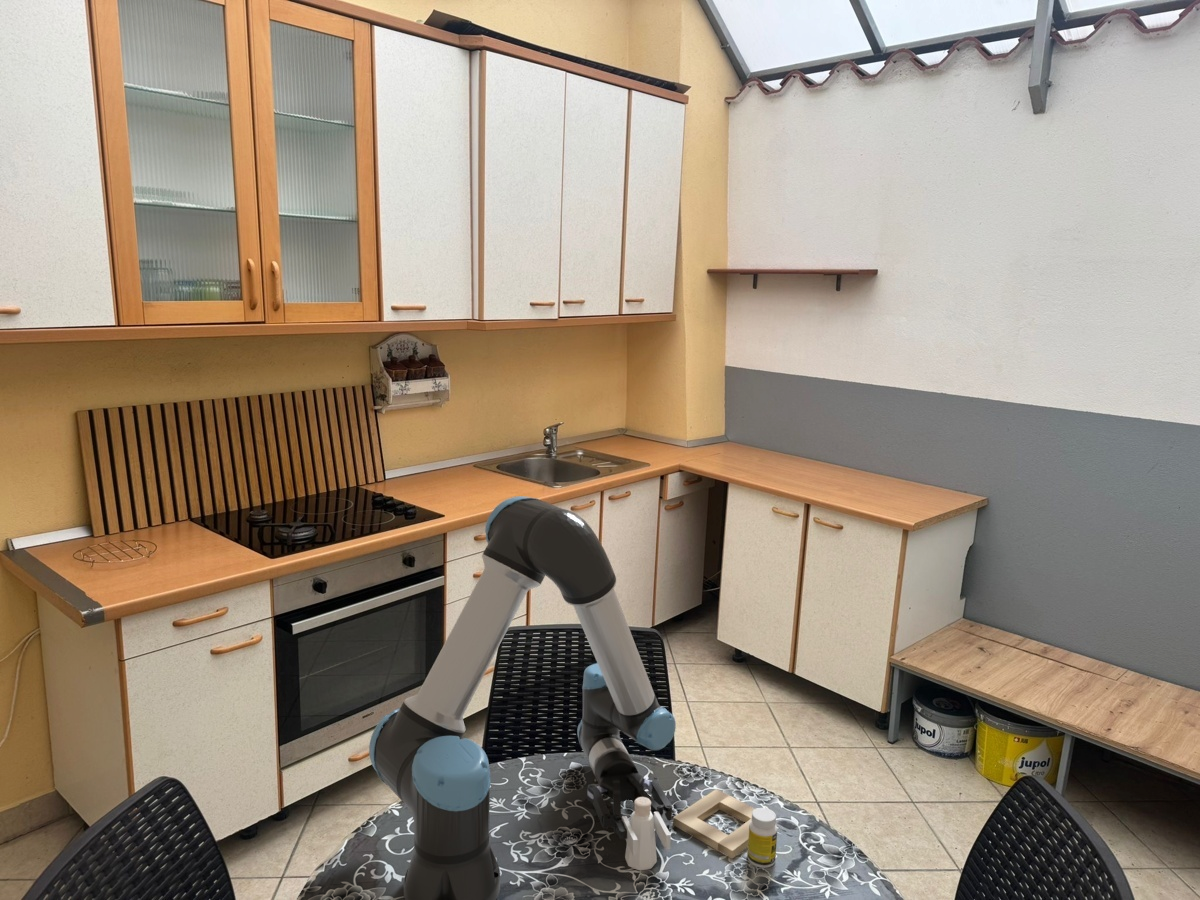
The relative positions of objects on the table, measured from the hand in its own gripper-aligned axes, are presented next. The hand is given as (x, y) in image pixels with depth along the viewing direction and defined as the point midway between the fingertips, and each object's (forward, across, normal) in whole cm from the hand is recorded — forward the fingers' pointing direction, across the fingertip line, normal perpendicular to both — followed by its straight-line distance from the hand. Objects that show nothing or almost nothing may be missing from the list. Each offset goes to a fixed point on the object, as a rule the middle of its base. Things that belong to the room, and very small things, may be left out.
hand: (651, 844), depth 134 cm
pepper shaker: (-5, 0, -7) cm, 9 cm away
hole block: (-11, -18, -6) cm, 22 cm away
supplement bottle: (-1, -20, -7) cm, 21 cm away
